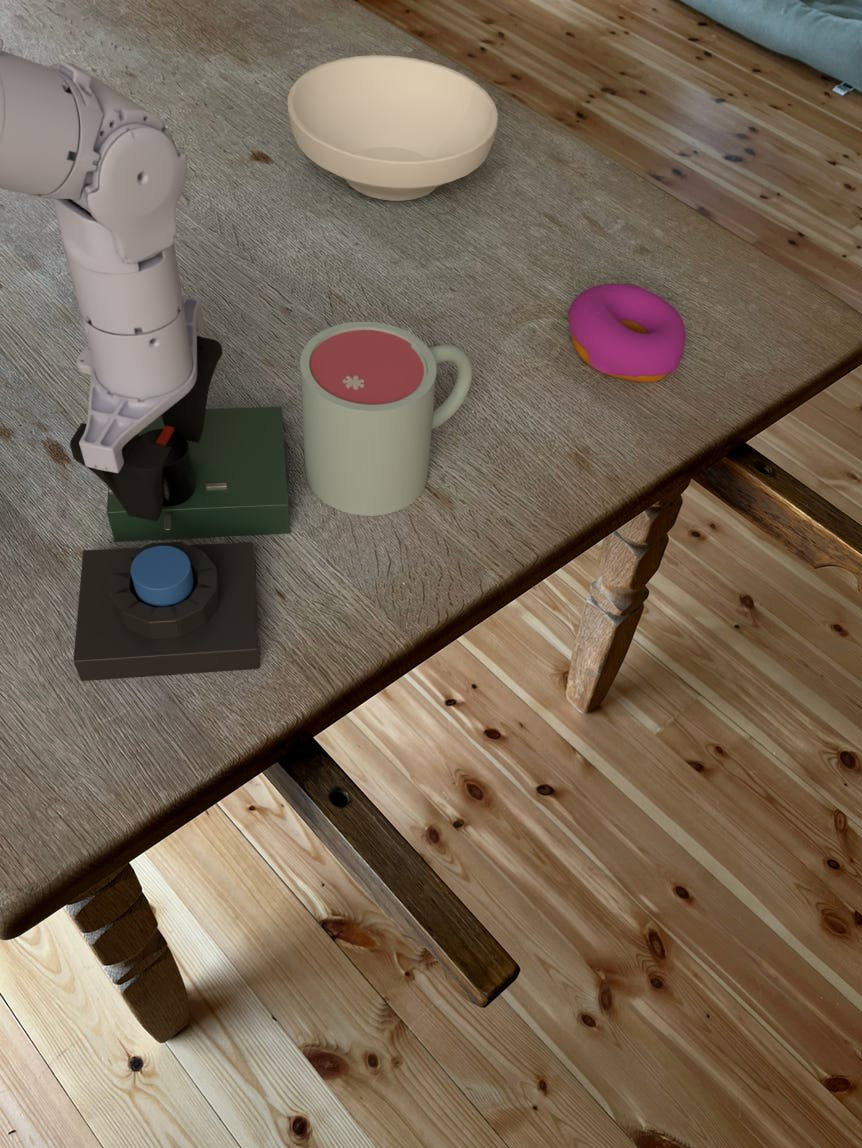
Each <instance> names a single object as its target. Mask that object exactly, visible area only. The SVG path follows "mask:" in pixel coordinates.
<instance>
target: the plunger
mask: <svg viewBox="0 0 862 1148" xmlns="http://www.w3.org/2000/svg"><path fill="white" fill-rule="evenodd" d="M131 576H132V579H133V583H134V587H135V591H136V593H137V595H138V596H139V598H140V599H142V600H143V601H144V602H146V603H148V604H150V605H154V606H170V605H174V604H176V603H179V602H181V601H182V600H184V599H185V598H186V597H187V596H188V595H189V594H190V592H191V591H192V588H193V585H194V579H193V574H192V568H191V563H190V560H189V558H188V556H187V555H186V554H185V553H184V552H183V551H181V550H180V549H178V548H175V547H172V546H165V545H161V546H154V547H151V548H148V549H146V550H144V551H142V552H141V553H140V554H138V555H137V556H136V557H135V559H134V560H133V562H132V565H131Z"/></svg>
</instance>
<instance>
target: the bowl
mask: <svg viewBox="0 0 862 1148" xmlns="http://www.w3.org/2000/svg"><path fill="white" fill-rule="evenodd" d="M286 101H287V102H286V103H287V112H288V121H289V126H290V128H291V132H292V134H293V138H294V140H295V142H296V144H297V146H298V148H299V149H300V150H301V151H302V153H304V155H305V156H306V157H307V158H308V159H309V160H310V161H312V162H313V163H314V164H316V165H317V166H318V167H320V168H322V169H324V170H326V171H328V172H329V173H332V174H334V175H335V176H337V177H339V178H341V179H342V180H344V181H345V182H346V183H347V184H348V185H349V187H351V188H352V189H353V190H355V191H357V192H358V193H361V194H363V195H364V196H367V197H370V198H373V199H377V200H382V201H389V202H403V201H413V200H416V199H417V200H418V199H421V198H423V197H425V196H428V195H429V194H431V193H433V192H434V191H435V190H436V189H437V188H438V187H441V186H443V185H445V184H447V183H451V182H454V181H456V180H459V179H461V178H464V177H466V176H468V175H469V174H471V173H473V172H474V171H475V170H477V169H478V168H479V167H481V165H482V164H483V163H484V162H485V161H486V160H487V157H488V155H489V153H490V151H491V149H492V146H493V145H494V142H495V138H496V136H497V129H498V123H499V122H498V121H499V111H498V109H497V106H496V103H495V102H494V101H493V99H492V98H491V96H490V95H489V93H488V92H487V91H486V90H485V89H484V88H483V87H482V86H480V85H479V83H477V82H476V81H474V80H473V79H471V78H470V77H468V76H466V75H465V74H463V73H460V72H458V71H456V70H455V69H452V68H450V67H448V66H444V65H441V64H438V63H435V62H432V61H427V60H423V59H419V58H414V57H407V56H399V55H388V54H387V55H382V54H369V55H355V56H350V57H344V58H343V57H342V58H338V59H335V60H331V61H329V62H325V63H322V64H320V65H317V66H316V67H314V68H311V69H310V70H308V71H307V72H305V73H304V74H303V75H301V76H300V77H299V78H297V79H296V81H295V82H294V84H293V85H291V88H290V89H289V93H288V95H287V99H286Z"/></svg>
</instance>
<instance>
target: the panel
mask: <svg viewBox="0 0 862 1148" xmlns="http://www.w3.org/2000/svg"><path fill="white" fill-rule="evenodd" d="M283 414H284V413H283V406H256V407H255V406H254V407H253V406H252V407H250V406H249V407H219V408H218V407H217V408H213V407H212V408H206V411H205V420H204V427H203V432H202V436H201V438H200V440H199V442H198V443H196V442H192V441H188V444H189V450H190V456H191V462H192V468H193V474H194V479H195V491H194V493H193V495H192V496H191V497H190V498H189V499H188V500H187V501H186V502H184V503H182V504H179V505H176V506H171V507H162V512H161V515H160V517H159V519H158V521H151V520H146V519H141V518H137V517H132V516H129V515H128V514H127V512H126V511H125V509H124V508H123V506H122V505H121V503H120V502H119V500H118V499H117V498H116V496H115V495H114V493H113V492H112V491H111V490H110V488H109V487H108V486H107V488H108V489H107V501H106V516H107V520H108V522H109V526H110V530H111V533H112V537H113V541H114V542H115V543H119V542H121V543H122V542H140V541H141V542H143V541H162V540H183V539H203V538H206V539H207V538H223V537H226V538H227V537H247V536H266V535H268V536H269V535H288V534H291V524H290V523H291V521H290V509H289V508H290V505H289V492H288V491H289V490H288V476H287V475H288V474H287V460H286V458H287V457H286V447H285V446H286V444H285V443H286V442H285V431H284V429H285V428H284V417H283V416H284V415H283ZM164 428H165V425H164V422H163V419H162V416H161V415H160V416H159V417H158V418H157V419H155V420H154V421H153V422H152V423H150V424H149V425H148V426H147V427H145V428H144V429H143V430H142V431H140V432H139V433H138V436H140V435H142V434H143V433H145V432H147V431H150V430H154V429H164Z"/></svg>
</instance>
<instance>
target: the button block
mask: <svg viewBox="0 0 862 1148" xmlns="http://www.w3.org/2000/svg"><path fill="white" fill-rule="evenodd" d="M161 545H165V546H172V547H175V548H178V549H180V550H181V551H183V552H184V553H185V554H186V555H187V556H188V558H189V560H190V563H191V568H192V574H193V579H194V585H193V588H192V591H191V592H190V594H189V595H188V596H187V597H186V598H185V599H184V600H182V601H181V602H179V603H176V604H174V605H170V606H154V605H150V604H148V603H146V602H144V601H143V600H142V599H140V598H139V596H138V595H137V593H136V591H135V587H134V583H133V579H132V576H131V565H132V562H133V560H134V559H135V557H136V556H137V555H138V554H140V553H141V552H142V551H144V550H146V549H148V548H151V547H154V546H161ZM256 565H257V564H256V554H255V547H254V542H253V541H245V542H226V543H225V542H224V543H223V542H222V543H203V544H201V543H200V544H187V543H184V542H181V541H166V542H164V541H163V542H150V543H148V544H145V545H143V546H141V547H124V548H123V547H122V548H121V547H120V548H101V549H99V548H98V549H83V551H82V559H81V570H80V582H79V592H78V593H79V594H78V605H77V617H76V627H75V639H74V640H75V641H74V650H73V651H74V652H73V663H74V666H75V669H76V671H77V674H78V677H79V679H80V681H81V682H86V681H87V682H88V681H102V680H103V681H104V680H115V679H116V680H117V679H129V678H131V679H132V678H145V677H159V676H174V675H188V674H204V673H219V672H231V671H232V672H233V671H234V672H235V671H245V670H247V671H249V670H259V669H260V644H259V643H260V642H259V620H258V619H259V618H258V595H257V592H258V591H257V589H258V588H257V566H256Z"/></svg>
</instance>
